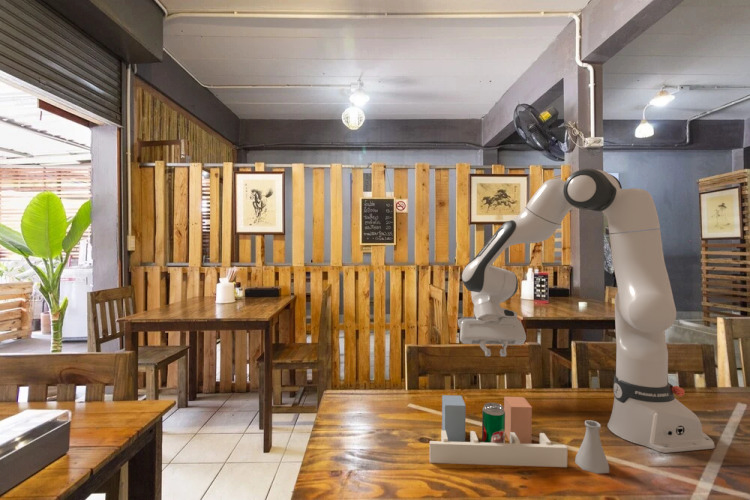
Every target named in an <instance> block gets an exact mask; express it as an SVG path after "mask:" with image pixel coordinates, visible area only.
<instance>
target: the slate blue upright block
mask: <svg viewBox="0 0 750 500" xmlns="http://www.w3.org/2000/svg"><path fill="white" fill-rule="evenodd" d="M441 400H442V401H441V430H446V434H447V438H448V441H449V442H466V421H467V419H466V418H467V417H466V416H467V415H466V411H467V410H466V407H467V406H466V403H465V401H464V399H463V395H451V394H450V395H448V394H447V395H446V394H445V395H443V394H442V395H441Z"/></svg>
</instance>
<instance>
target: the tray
mask: <svg viewBox="0 0 750 500" xmlns="http://www.w3.org/2000/svg"><path fill="white" fill-rule="evenodd" d="M469 432H470V433H469V436H470V437H469V440H470V441H465V442H461V441H448V438H447V434H446V430H442V429H441V431H440V435H441V437H440V439H441V440H440V441H439V440H429V463H430V464H451V465H452V464H453V465H454V464H457V465H458V464H459V465H460V464H461V465H485V466H488V465H489V466H515V467H516V466H517V467H518V466H521V467H524V466H525V467H547V468H548V467H553V468H568V447H567V445H566V444H552V441H551V440H550V439H549V437H547V435H546V433H544V432H540V433H539V443H531V444H530V443H520V441H519V439H518V437H517V436H516V434H515V432H510V441H509V443H508V442H505V443H484V442H482V441H479V438H478V436H477V434H476V431H475V430H470V431H469Z"/></svg>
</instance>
